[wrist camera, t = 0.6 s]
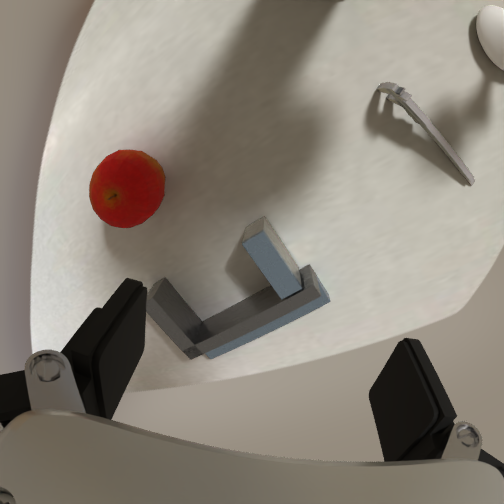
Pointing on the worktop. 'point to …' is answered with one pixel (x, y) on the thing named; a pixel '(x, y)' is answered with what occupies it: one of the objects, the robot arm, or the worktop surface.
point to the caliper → (424, 124)
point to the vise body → (231, 316)
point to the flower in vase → (492, 33)
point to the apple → (127, 188)
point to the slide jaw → (272, 257)
